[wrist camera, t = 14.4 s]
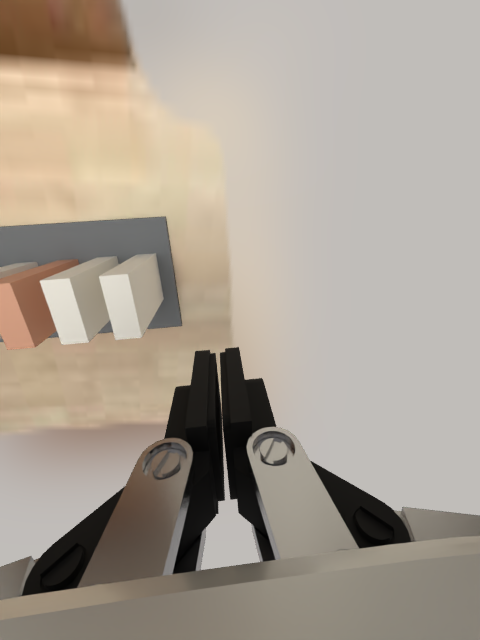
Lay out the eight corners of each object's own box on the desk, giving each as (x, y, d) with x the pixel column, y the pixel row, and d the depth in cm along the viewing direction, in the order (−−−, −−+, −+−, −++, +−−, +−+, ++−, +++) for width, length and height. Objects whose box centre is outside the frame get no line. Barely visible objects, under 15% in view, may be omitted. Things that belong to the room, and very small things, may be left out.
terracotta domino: (77, 258, 28) (10, 283, 18) (90, 304, 30) (35, 347, 20) (57, 260, 28) (-21, 285, 18) (71, 306, 29) (7, 349, 20)
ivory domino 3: (155, 253, 28) (127, 274, 19) (163, 298, 30) (141, 337, 21) (136, 254, 28) (98, 276, 19) (145, 300, 30) (115, 339, 21)
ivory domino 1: (36, 261, 27) (-53, 287, 18) (52, 307, 29) (-22, 352, 20) (16, 263, 27) (-85, 290, 18) (33, 309, 29) (-50, 354, 20)
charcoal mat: (182, 324, 32) (181, 326, 32) (-4, 340, 31) (-7, 342, 30) (165, 216, 27) (164, 216, 27) (-54, 230, 26) (-58, 230, 26)
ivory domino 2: (116, 256, 28) (69, 278, 19) (127, 301, 30) (88, 342, 21) (97, 257, 28) (39, 280, 19) (108, 303, 30) (61, 344, 20)
